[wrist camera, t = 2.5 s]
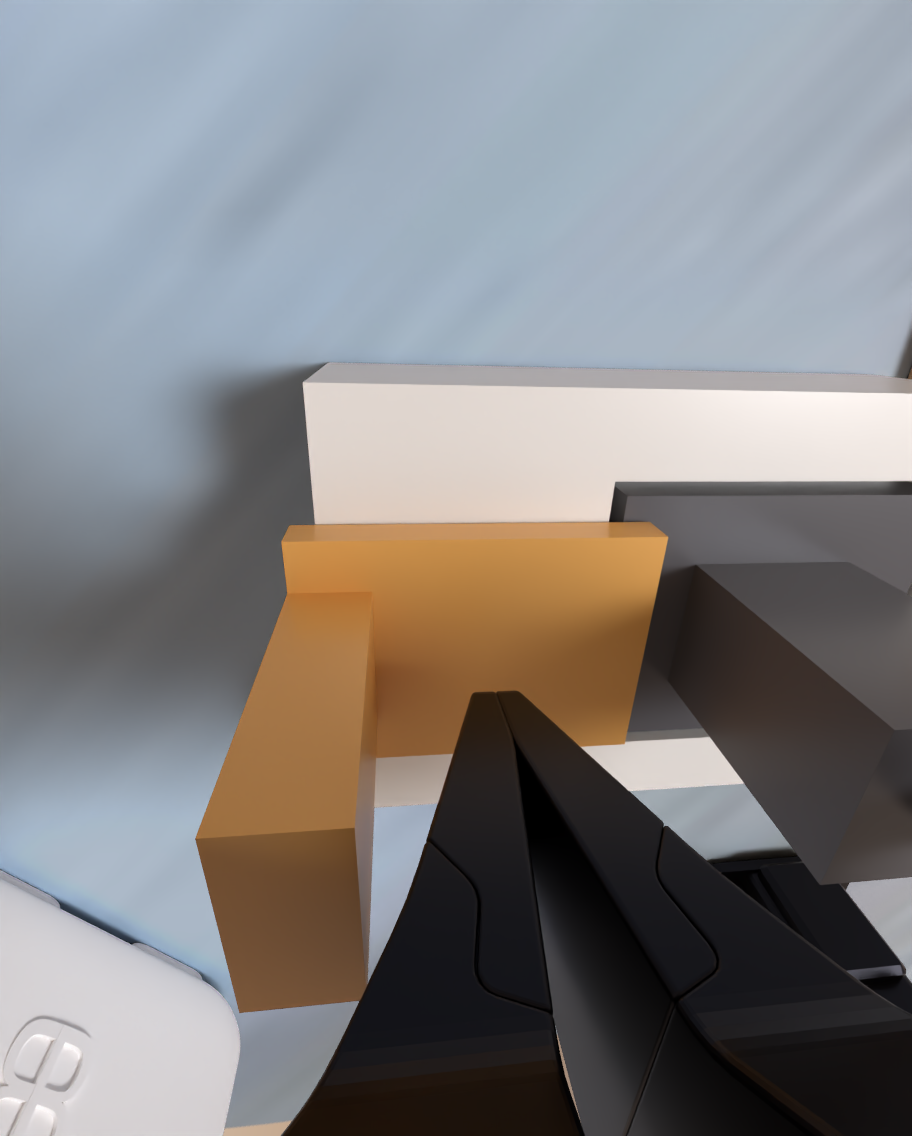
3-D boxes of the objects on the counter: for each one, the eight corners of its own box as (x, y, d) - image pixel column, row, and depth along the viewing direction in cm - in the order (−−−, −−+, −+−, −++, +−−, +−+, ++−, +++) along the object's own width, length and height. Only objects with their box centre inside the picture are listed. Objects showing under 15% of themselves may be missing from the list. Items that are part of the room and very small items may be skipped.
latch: (611, 720, 13) (761, 999, 8) (311, 735, 12) (250, 1056, 7) (649, 521, 11) (895, 721, 5) (289, 525, 10) (175, 759, 5)
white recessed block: (768, 685, 18) (860, 775, 15) (351, 703, 17) (339, 810, 13) (873, 374, 14) (1038, 396, 11) (328, 362, 13) (302, 383, 9)
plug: (823, 695, 15) (1186, 1019, 8) (574, 707, 14) (743, 1075, 7) (908, 481, 12) (1550, 691, 5) (609, 481, 11) (921, 726, 5)
